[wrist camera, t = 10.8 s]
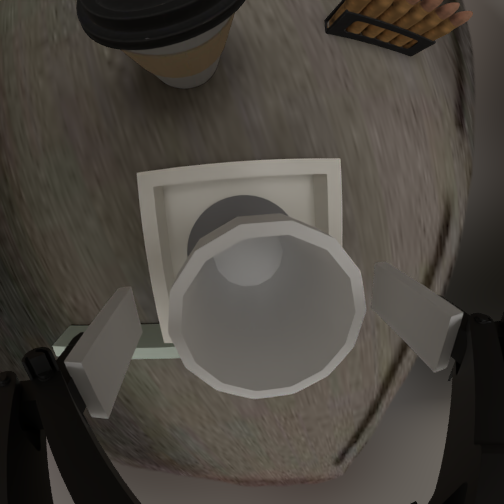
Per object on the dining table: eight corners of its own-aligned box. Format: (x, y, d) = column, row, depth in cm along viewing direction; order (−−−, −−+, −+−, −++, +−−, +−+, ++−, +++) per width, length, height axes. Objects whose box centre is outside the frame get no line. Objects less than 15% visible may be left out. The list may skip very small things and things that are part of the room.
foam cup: (228, 317, 27) (235, 419, 14) (173, 234, 24) (126, 292, 12) (316, 267, 26) (386, 339, 14) (269, 178, 24) (318, 180, 11)
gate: (70, 325, 26) (52, 346, 22) (248, 316, 28) (253, 340, 24) (73, 334, 27) (56, 355, 22) (249, 327, 28) (254, 352, 24)
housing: (151, 173, 24) (136, 172, 19) (321, 160, 25) (340, 158, 21) (171, 319, 28) (164, 343, 23) (323, 304, 29) (338, 324, 24)
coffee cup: (231, 17, 20) (243, -91, 6) (244, 99, 23) (273, 13, 9) (135, 35, 20) (77, -54, 5) (141, 118, 22) (56, 63, 8)
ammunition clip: (409, 43, 22) (476, 9, 11) (411, 56, 23) (481, 24, 11) (324, 19, 21) (374, -43, 10) (325, 33, 22) (379, -29, 10)
